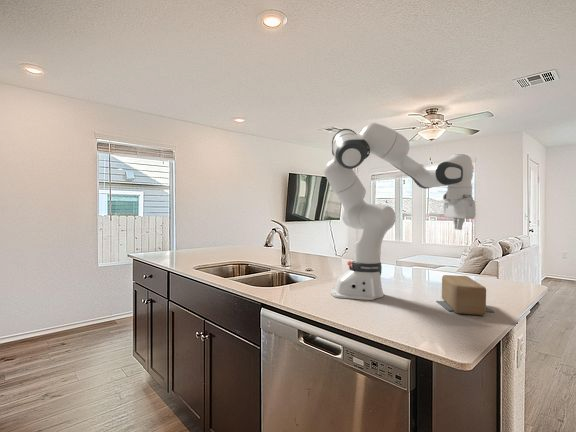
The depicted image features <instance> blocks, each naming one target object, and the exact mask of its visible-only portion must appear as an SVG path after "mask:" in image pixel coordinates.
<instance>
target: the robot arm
mask: <svg viewBox="0 0 576 432" xmlns="http://www.w3.org/2000/svg"><path fill="white" fill-rule="evenodd" d="M331 148H332V149H331V154H332V156H333V158H332V159H330V160H329V161H328V162H327V163H326V164H325V165H324V169H323V173H324V176H325V178H326V180H327V183H328V184H329V186H330V187H331V189H332V191H333V192H334V194H335V195H336V196H337V198H338V199H339V201H340V202H341V204H342V206H343V212H342V215H341V216H342V221H343V223H344V225H346V226H347V227H349V228H353V229H358V230H363V231H362V235H361V237H360V238H359V239H358V240H356V241H355V242H354V247H353V249H354V251H353V255H354V256H353V261H351V260H348V261H347V265H348V268H349V269H348V270H347V271H346V272H344V273H342V274H341V275H340V276H339V277H337V279H336V283H335V287H332V288H331V289H330V294H331V296H332V297H335V298H338V299H340V298H341V299H352V300H355V299H356V300H365V301H373V300H375V299H379V298H382V297H384V290H383V287H382V277H381V276H382V268H383V267H382V262H381V254H382V253H381V251H382V244H383V240H384V237H385V236H386V234H387V232H388V231H389V230H391V229H392V228H393V227H394V225H395V223H396V221H397V220H396V219H397V216H396V215H397V214H396V212H395V210H394V208H393V207H391V206H388V205H386V204H382V203H381V204H380V203H375V204H374V203H370V204H369V203H367V202H366V201H365V200H364V198H365V197H366V193H367V190H366V188H365V186H364V185H363V183H362V182H361V180H360V178H359V177H358V175H357V174H356V172H355V170H354V169H355V168H357V167H359V166H360V165H361V164H362V163H363V162H364V161H365V160H366V159H367V158H368V157H370V154H372V155H375V156H377V157H379V158H380V159H382V160H384V162H385V161H386V162H388V163H389V164H390V165H392V166H393V167H395V168H397V170H399V171H401V172H402V173H403V174H405V175H407V176H408V177H409V178H411V179H412V180H413V182H414V183H415V184H416V186H418V187H419V188H421V189H431V188H438V187H439V188H440V187H446V186H447V191H446V192H445V193H444V194H443V196H442V200H443V215H444V218H450V219H452V222H453V225H454V227H453V229H454V230H457V231H462V230H463V226H464V225H463V224H464V223H465V219H467V220H473V219H474V220H475V218H476V201H475V199H474V198H473V184H472V180H473V176H474V175H473V173H474V172H473V167H474V165H473V161H472V158H471V157H470V156H469V155H466V154H459V153H457V154H456V153H455V154H453V155H451V156H450V157H448V158H446V159H445V160H442V161H439V162H435V163H429V164H422V163H419V162H417V161H415V160H414V159H412V158H411V157H409V156H408V154H409V151H410V142H409V139H407V138H406V137H405V136H404V135H403V134H401V133H399V132H397V131H396V130H394V129H392V128H391V127H389V126H386V125H383V124H380V123H377V122H370V123H368V124H366V125H365V126H364V127H363V128H362V130H361V132H358V133H357V132H355V131H354V130H352V129H350V128H341V129H339V130H337V131H336V132H335V134H334V135H333V137H332V141H331Z"/></svg>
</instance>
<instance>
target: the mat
mask: <svg viewBox="0 0 576 432" xmlns="http://www.w3.org/2000/svg"><path fill="white" fill-rule="evenodd" d="M435 302H436V303H437V304H438V305H440V306H441V307H442V308H444V309H445V310H447V311H448V312H454V313H456V312H455V311H454V310H453V309H452V308H451V307H450V306H449V305H448V304H447V303H446V302H445V301H444V300H436V301H435ZM486 313H492V314H494V313H495V311H494V310H492V309H491V308H489V307H487V306H486Z"/></svg>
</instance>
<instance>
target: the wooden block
mask: <svg viewBox="0 0 576 432" xmlns="http://www.w3.org/2000/svg"><path fill="white" fill-rule="evenodd" d="M441 299H442V301H445V302H446V303H447V304H448V305H449V306H450V307H451V308H452V309H453V310H454V311H455V312H454V311H453V312H454V313H456V314H461V315H475V316H476V315H478V316H484V315H486V313H487V312H486V307H487V288H486V287H485V286H484V285H482V284H480V283H479V282H477V281H475V280H474V279H472V278H470V277H469V276H467V275H451V274H450V275H449V274H444V275H442V277H441Z"/></svg>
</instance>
